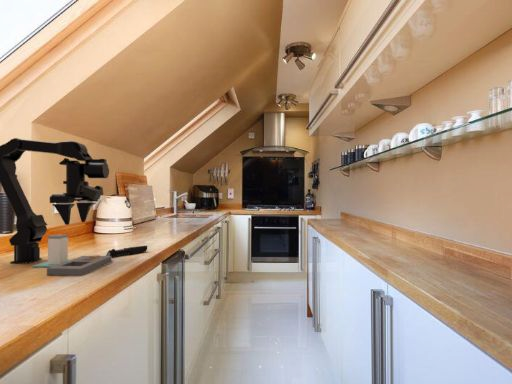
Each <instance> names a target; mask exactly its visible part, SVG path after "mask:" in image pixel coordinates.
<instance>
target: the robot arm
mask: <svg viewBox="0 0 512 384" xmlns="http://www.w3.org/2000/svg"><path fill="white" fill-rule="evenodd" d="M25 152H33V153H43V154H54V155H59V156H63V157H65V158H63V159H62V160H61V161H60V162H58V163H59V165H60V166H65V169H66V170H65V180H63V181H62V182H63V183H62V184H63V185H65V192H62V194H60V193H59V194H58V193H57V194H53V193H52V194H51V195H50V196H49V204H52V206H53V207H54V208H55V209H56V211H57V213H58V214H59V216H60V217H61V219H62V221H63V223H64V225H65V226H67V225H70V221H71V213H72V212H71V211H72V208H73V207H74V206H75V205H76V207H77V211H78V214H79V218H80V221H81V223H85V222H86V221H87V218H88V215H89V212H90V209H91V208H92V207H93V206H94V205H96V204H97V202H99V200H101V196H103V195H104V189H103V186H101V185H96V186H90V185H89V184H90V183H89V182H88V181H87V180H86V176H87V178H88V179H108V178H109V176H110V175H109V174H110V169H109V164H108V163H107V158H98V159H97V158H96V159H95V158H93V157H92V156H91V155H90V154H89V152H88V148H87V146H86V145H85V144H83V143H81V142H80V143H79V142H77V141H73V140H65V141H59V142H52V141H41V140H33V139H31V140H30V139H23V138H22V139H21V138H18V137H14V138H12V139H9V140H8V141H7V142H5V143H3V144H1V145H0V186H1V187H2V189H3V192H4V195H5V196H6V198H7V200H8V202H9V204H10V206H11V208H12V210H13V212H14V215H15V216H16V217H15V218H16V220H15V228H16V232H15V234H13V235H12V236H11V237H10V238H9V241H8V242H9V243H10V246H11V247H13V255H14V256H13V260H11V261H10V264H31V263H34V262H38V261H40V260H42V259H43V258H42V257H41V256H40V255H41V252H40V251H41V250H40V249H41V248H40V247H39V244H40V243H39V242H41V241H42V239H43V237H44V236H45V235H46V232H47V231H48V228H47V226H48V223H47V222H46V221H45V218H44V216H43V214H37V213H35V212H34V211H33V209H32V207H31V205H30V203H29V201H28V199H27V196H26V195H25V192H24V190H23V188H22V186H21V183H20V182H19V180H18V178H17V175H16V174H17V173H16V171H17V165H16V162H18V160H20V159H21V157H22V155H23V154H24V153H25ZM70 159H71V160H70ZM72 159H74V160H72ZM74 202H75V203H76V204H75V203H74Z"/></svg>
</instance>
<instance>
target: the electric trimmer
mask: <svg viewBox="0 0 512 384" xmlns="http://www.w3.org/2000/svg"><path fill="white" fill-rule="evenodd" d="M147 251H148V245H140V246H139V245H138V246H132V247H131V246H130V247H124V248H121V249H115V248H112V249H109V250H108V251H107V252H106V255H105V256H112V258H114V257H116V258H117V257H121V256H127V255H129V256H130V255H135V254H136V255H137V254H141V253H144V252H147Z"/></svg>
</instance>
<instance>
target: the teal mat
mask: <svg viewBox="0 0 512 384" xmlns="http://www.w3.org/2000/svg"><path fill="white" fill-rule="evenodd" d="M72 259H73V258H72ZM72 259H69V258H68V261H69V260H72ZM55 265H58V264H48V260H46V261H43V262H39V263H37V264H34V265H32V266H31V267H32V268H39V269H40V268H42V269H43V268H45V269H47V268H49V267H52V266H55Z"/></svg>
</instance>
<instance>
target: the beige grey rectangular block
mask: <svg viewBox="0 0 512 384" xmlns="http://www.w3.org/2000/svg"><path fill="white" fill-rule="evenodd" d="M68 240H69V234H52V235H48V236H47V261H48V264H61V263H64V262H66V261H68V259H69V257H68V256H69V255H68V254H69V246H68V245H69V241H68Z"/></svg>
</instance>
